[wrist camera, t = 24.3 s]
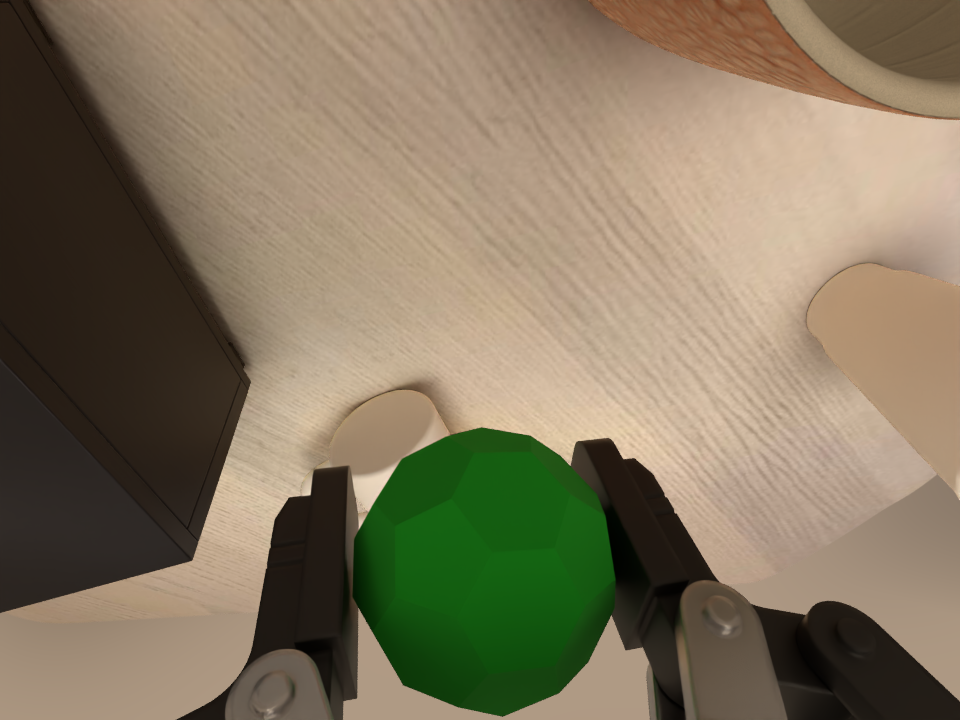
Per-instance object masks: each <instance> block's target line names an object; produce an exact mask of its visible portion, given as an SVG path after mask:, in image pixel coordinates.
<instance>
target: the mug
mask: <svg viewBox="0 0 960 720" xmlns="http://www.w3.org/2000/svg"><path fill="white" fill-rule="evenodd" d="M446 436H450V433H449V431H448V429H447V428H446V426H445V424H444V422H443V421H442V419H441V417H440V415H439V413H438V412H437V410H436V408H435V406H434V404H433V403H432V401H431V400H430V399H429V398H428V397H427V396H426V395H424V394H422V393H420V392H417V391H413V390H397V391H392V392H388V393H385V394H382V395H379V396H377V397H375V398H373V399H371V400H369V401H367V402H365V403H364V404H362V405H361V406H359V407H358V408H357V409H356V410H354V411H353V412H352V413H351V414H350V415H349V416H348V417H347V418H346V419H345V420H344V421H343V422H342V423H341V425H340V426H339V427H338V429H337V430H336V432H335V434H334V436H333V438H332V440H331V443H330V447H329V460H327V461H325V462H323V463H321V464H320V465H318V466H317V467H315V468H314V469H320V468H329V467H338V466H347V465H349V466H350V468H351V474H352V480H353V486H354V492H355V497H356V498H357V500H358V501H359V502H360V503H361V505H362V506H363V507H364V508H365V509H366V512H362V513H358V521H359V529H360V527H361V525H362V523H363V521H364V520H365V518H366V516H367V514H368V512H369V511H370V509H371V507H372V505H373V503H374V502H375V500H376V498H377V497H378V495H379V494H380V492H381V491H382V489H383V487H384V486H385V484H386V483H387V481H388V479H389V478H390V476H391V475H392V473H393V472H394V470H395V468H396V467H397V465H398V464H399V462H400V460H401V459H402V458H404V457H406V456H408V455H410V454H412V453H414V452H416V451H418V450H420V449H422V448H424V447H426V446H428V445H430V444H432V443H434V442H436V441H438V440H440V439H442V438H444V437H446ZM314 469H313V470H311V471H310V472H309V473H308V474H307V475H306V477H305V478H304V480H303V482H302V485H301V496H307V495H310V494H311V485H312V476H313V471H314Z"/></svg>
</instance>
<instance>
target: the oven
mask: <svg viewBox="0 0 960 720" xmlns="http://www.w3.org/2000/svg"><path fill="white" fill-rule="evenodd" d="M52 44H53V42H52V40H51V39H50V37H49V35H48V34H47V32H46V30H45V29H44V27H43V25H42V24H41V22H40V20H39V19H38V17H37V15H36V14H35V12H34V10H33V9H32V7H31V5H30V4H29V2H28V0H0V613H2V612H5V611H9V610H13V609H16V608H20V607H24V606H27V605H31V604H35V603H38V602H42V601H46V600H49V599H53V598H57V597H60V596H64V595H68V594H72V593H75V592H79V591H83V590H86V589H90V588H94V587H97V586H101V585H105V584H108V583H112V582H116V581H119V580H123V579H127V578H130V577H134V576H138V575H142V574H145V573H149V572H153V571H156V570H160V569H164V568H167V567H171V566H175V565H178V564H182V563H186V562H189V561H192V560H193V557H194V554H195V551H196V548H197V545H198V541H199V539H200V536H201V533H202V530H203V527H204V524H205V521H206V517H207V514H208V511H209V508H210V505H211V502H212V499H213V496H214V493H215V490H216V487H217V484H218V481H219V478H220V475H221V472H222V469H223V466H224V463H225V460H226V457H227V454H228V451H229V448H230V445H231V442H232V439H233V436H234V433H235V430H236V427H237V423H238V420H239V417H240V414H241V411H242V408H243V405H244V402H245V399H246V396H247V393H248V390H249V387H250V384H251V381H250V379H249V378H248V376H247V374H246V373H245V371H244V366H245V364H244V363H243V361H242V359H241V358H240V356H239V354H238V353H237V351H236V349H235V348H234V346H233V344H232V343H231V342H229V343H227V341H226V339H225V338H224V336H223V334H222V333H221V331H220V329H219V328H218V326H217V324H216V323H215V321H214V319H213V318H212V316H211V314H210V313H209V311H208V309H207V308H206V306H205V304H204V303H203V301H202V299H201V298H200V296H199V294H198V293H197V291H196V290H195V288H194V286H193V285H192V283H191V281H190V280H189V278H188V276H187V275H186V273H185V271H184V270H183V268H182V266H181V265H180V263H179V261H178V260H177V258H176V256H175V255H174V253H173V251H172V250H171V248H170V246H169V245H168V243H167V241H166V240H165V238H164V236H163V235H162V233H161V231H160V230H159V228H158V226H157V225H156V223H155V221H154V220H153V218H152V216H151V215H150V213H149V211H148V210H147V208H146V206H145V205H144V203H143V201H142V200H141V198H140V196H139V195H138V193H137V191H136V190H135V188H134V186H133V185H132V183H131V181H130V180H129V178H128V176H127V175H126V173H125V171H124V170H123V168H122V166H121V165H120V163H119V162H118V160H117V158H116V157H115V155H114V153H113V152H112V150H111V148H110V147H109V145H108V143H107V142H106V140H105V138H104V137H103V135H102V133H101V132H100V130H99V128H98V127H97V125H96V123H95V122H94V120H93V118H92V117H91V115H90V113H89V112H88V110H87V108H86V107H85V105H84V103H83V102H82V100H81V98H80V97H79V95H78V93H77V92H76V90H75V88H74V87H73V85H72V83H71V82H70V80H69V78H68V77H67V75H66V73H65V72H64V70H63V68H62V67H61V65H60V63H59V62H58V60H57V58H56V57H55V55H54V53H53V52H52V50H51V48H50V47H49V45H52Z"/></svg>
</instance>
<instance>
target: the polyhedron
mask: <svg viewBox="0 0 960 720" xmlns="http://www.w3.org/2000/svg"><path fill="white" fill-rule="evenodd" d="M615 580H616V579H615V573H614V567H613V561H612V554H611V548H610V542H609V536H608V529H607V523H606V517H605V514H604V511H603V508H602V506H601V503H600V501H599V498H598V496H597V494H596V493H595V492H594V491H593V489H592V488H591V487H590V486H589V485H588V484H587V483H586V482H585V481H584V480H583V479H582V478H581V477H580V476H579V475H578V474H577V473H576V472H575V471H574V470H573V468H572V467H571V466H570V465H569V464H568V463H567V462H566V461H565V460H564V459H563V458H562V457H561V456H560V455H558V454H557V453H555V452H554V451H552V450H551V449H549V448H548V447H546V446H545V445H543V444H542V443H540V442H539V441H537V440H536V439H534V438H533V437H531V436H529V435H523V434H517V433H511V432H505V431H500V430H494V429H488V428H482V427H481V428H477V429H473V430H469V431H465V432H461V433H458V434H454V435H450V436H446V437H444V438H442V439H440V440H438V441H436V442H434V443H432V444H430V445H428V446H426V447H424V448H422V449H420V450H418V451H416V452H414V453H412V454H410V455H408V456H406V457H404V458H402V459H401V460H400V462H399V464H398V465H397V467H396V468H395V470H394V472H393V473H392V475H391V476H390V478H389V479H388V481H387V483H386V484H385V486H384V487H383V489H382V491H381V492H380V494H379V495H378V497H377V498H376V500H375V502H374V503H373V505H372V507H371V509H370V511H369V512H368V514H367V516H366V518H365V520H364V521H363V523H362V525H361V527H360V529H359V530H358V532H357V534H356V536H355V538H354V554H353V590H352V597H353V599H354V601H355V602H356V604H357V606H358V608H359V609H360V611H361V613H362V615H363V616H364V618H365V620H366V622H367V623H368V625H369V627H370V629H371V630H372V632H373V634H374V635H375V637H376V639H377V641H378V642H379V644H380V646H381V648H382V649H383V651H384V653H385V654H386V656H387V658H388V660H389V661H390V663H391V665H392V667H393V668H394V670H395V671H396V673H397V675H398V677H399V678H400V680H401V682H402V684H403V685H404V686H407V687H409V688H412V689H414V690H417V691H419V692H422V693H424V694H427V695H429V696H432V697H434V698H437V699H439V700H441V701H444V702H447V703H449V704H452V705H454V706H456V707H460V708H464V709H469V710H474V711H479V712H483V713H488V714H493V715H497V716H502V717H503V716H505V715H508V714H510V713H513V712H515V711H517V710H520V709H522V708H525V707H527V706H529V705H532V704H534V703H537V702H539V701H542V700H544V699H546V698H549V697H551V696H553V695H556V694H558V693H560V692H561V691H562V689H563V688H564V687H565V686H566V685H567V684H568V683H569V682H570V681H571V680H572V679H573V678H574V677H575V676H576V675H577V674H578V672H579V671H580V670H581V669H582V668H583V667H584V666H585V665H586V664H587V663H588V661H589V659H590V657H591V655H592V653H593V651H594V649H595V647H596V645H597V643H598V641H599V639H600V637H601V635H602V633H603V631H604V629H605V627H606V625H607V623H608V621H609V619H610V616H611V615H612V613H613V611H614V609H615Z"/></svg>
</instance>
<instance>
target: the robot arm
mask: <svg viewBox="0 0 960 720" xmlns="http://www.w3.org/2000/svg"><path fill="white" fill-rule="evenodd" d="M571 467H572V468H573V470H574V471H575V472H576V473H577V474H578V475H579V476H580V477H581V478H582V479H583V480H584V481H585V482H586V483H587V484H588V485H589V486H590V487H591V488H592V489H593V491H594V492H595V493H596V494H597V496H598V498H599V501H600V503H601V506H602V508H603V511H604V514H605V517H606V523H607V529H608V536H609V542H610V548H611V554H612V561H613V567H614V573H615V579H616V580H615V609H614V611H613V613H612V617H613V620H614V622H615V625H616V627H617V630H618V632H619V635H620V637H621V640H622V642H623V645H624V647H625V650H631V649H636V648H642V647H643V648H644V651H645V653H646V656H647V658H648V660H649V665H648V668H647V689H648V702H649V714H650V720H960V702H959V700H958V699H957V698H955V697H954V696H953V695H952V694H951V693H950V692H949V691H948V690H947V689H946V688H945V687H944V686H943V685H942V684H940V683H939V681H938V680H936V679H935V678H934V677H933V676H932V675H931V674H930V673H929V672H928V671H927V670H926V669H925V668H924V667H923V666H922V665H920V663H918V662H917V661H916V660H915V659H914V658H913V657H912V656H911V655H910V654H909V653H908V652H907V651H906V650H905V649H904V648H903V647H902V646H900V645H899V644H898V643H897V642H896V641H895V640H894V639H893V638H892V637H891V636H890V635H889V634H888V633H887V632H886V631H884V629H882V628H881V627H880V626H879V625H878V624H877V623H876V622H875V621H874V620H872V619H871V618H870V617H868V616H867V615H866V614H864V613H863V612H861V611H859V610H858V609H856V608H854V607H851V606H849V605H847V604H844V603H840V602H835V601H824V602H820V603H817V604H815V605H814V606H813V607H812V608H811V609H810V611H809V612H808V614H807V615H803V614H797V613H791V612H786V611H779V610H774V609H768V608H763V607H758V606H755V605H753V604H750V603H749V602H748V600H747V599H746V598H745V597H744V596H742V595H741V594H740V593H738V592H737V591H736V590H734V589H733V588H731V587H729V586H727V585H725V584H722V583H720V582H719V581H718V580H717V579H716V577H715V576H714V574H713V573H712V571H711V570H710V568H709V566H708V565H707V563H706V562H705V560H704V558H703V557H702V555H701V553H700V552H699V550H698V548H697V547H696V545H695V543H694V542H693V540H692V538H691V537H690V535H689V533H688V532H687V530H686V528H685V527H684V525H683V523H682V522H681V520H680V518H679V517H678V515H677V513H676V514H675V513H674V508H673V507H672V505H671V503H670V502H669V500H668V498H667V497H665V496H664V492H663V490H662V489H661V487H660V485H659V484H658V482H657V480H656V479H655V477H654V475H653V474H652V473H651V472H650V471H649V470H647V469H646V468H645V467H644V466H643V465H642V464H640V463H639V462H638V461H637V460H636V459H635V458H632V459H623V458H622V456H621V455H620V453H619V451H618V449H617V447H616V446H615V444H614V442H613V441H612V440H611V439H609V438H604V439H594V440H585V441H578V442H576V444H575V447H574V452H573V457H572V462H571ZM358 530H359V521H358V511H357V504H356V498H355V492H354V486H353V480H352V474H351V468H350V466H349V465H347V466H338V467H329V468H320V469H314V471H313V476H312V485H311V494H310V495H307V496H299V497H290V498H288V500H287V501H286V503H285V505H284V506H283V508H282V509H281V511H280V512H279V514H278V515H277V517H276V518H275V521H274V527H273V532H272V538H271V548H270V550H269V555H268V561H267V569H266V572H265V578H264V584H263V589H262V595H261V601H260V606H259V612H258V618H257V623H256V629H255V635H254V641H253V646H252V650H251V653H250V656H249V658H248V661H247V663H246V665H245V666H244V668H243V670H242V672H241V673H240V674H239V676H238V677H237V679H236V680H235V681H234V682H233V683H232V684H231V685H230V687H228V688H227V689H226V690H225V691H224V692H223V693H222V694H221V695H219V696H218V697H217V698H215V699H214V700H213V701H211V702H209V703H207V704H206V705H204V706H202V707H200V708H198V709H196V710H194V711H192V712H190V713H189V714H187V715H185V716H183V717H181V718H179V719H177V720H343V701H346V700H352V699H356V698H357V672H358V671H357V669H358V667H357V666H358V606H357V604H356V602H355V601H354V599H353V597H352V590H353V554H354V538H355V536H356V534H357V532H358Z"/></svg>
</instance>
